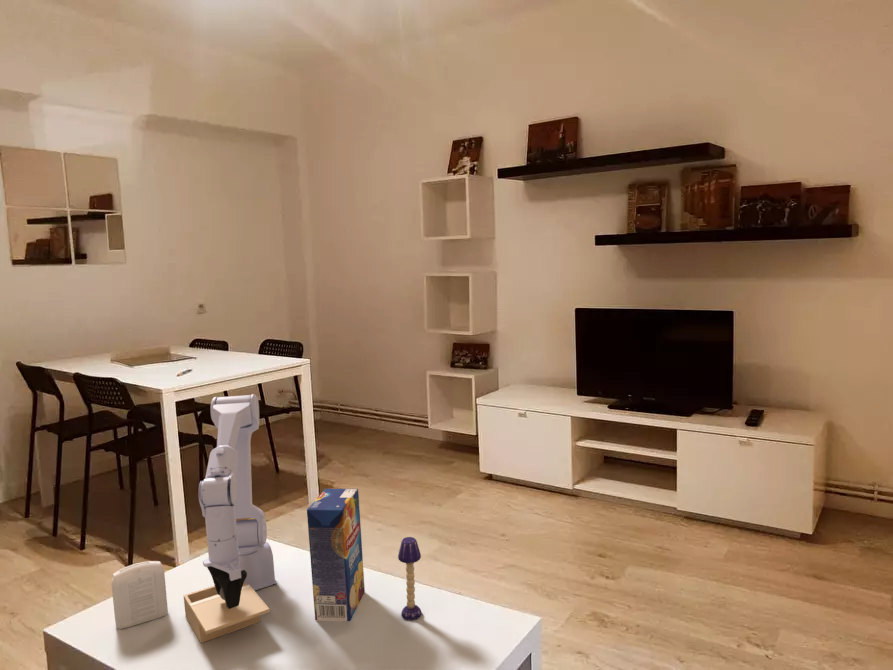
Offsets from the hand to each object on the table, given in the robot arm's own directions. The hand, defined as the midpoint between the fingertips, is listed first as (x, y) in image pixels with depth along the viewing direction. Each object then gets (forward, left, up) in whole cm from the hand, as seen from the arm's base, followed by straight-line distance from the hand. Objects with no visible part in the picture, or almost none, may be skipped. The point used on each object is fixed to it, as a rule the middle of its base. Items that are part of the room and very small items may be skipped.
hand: (228, 599), depth 136 cm
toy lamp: (-32, +18, -7) cm, 37 cm away
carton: (0, -6, -7) cm, 9 cm away
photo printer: (+14, -17, -7) cm, 23 cm away
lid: (0, 0, -2) cm, 2 cm away
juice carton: (-22, +5, -7) cm, 24 cm away
